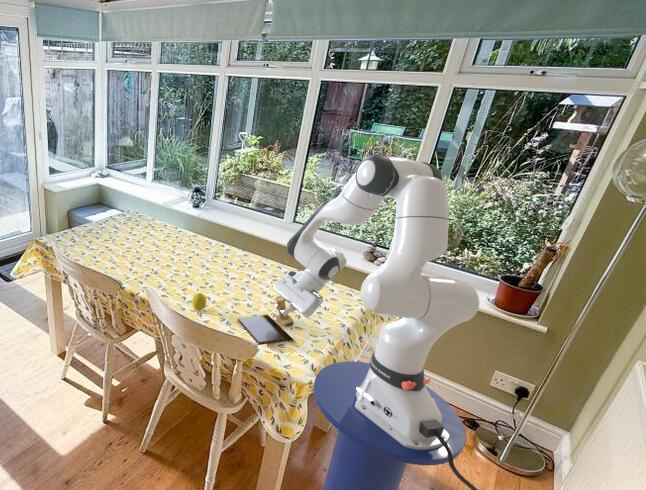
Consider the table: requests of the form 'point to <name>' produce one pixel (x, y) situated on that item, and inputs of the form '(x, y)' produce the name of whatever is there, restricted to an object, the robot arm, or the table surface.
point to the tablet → (264, 329)
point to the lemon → (199, 301)
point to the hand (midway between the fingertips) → (279, 310)
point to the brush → (281, 318)
